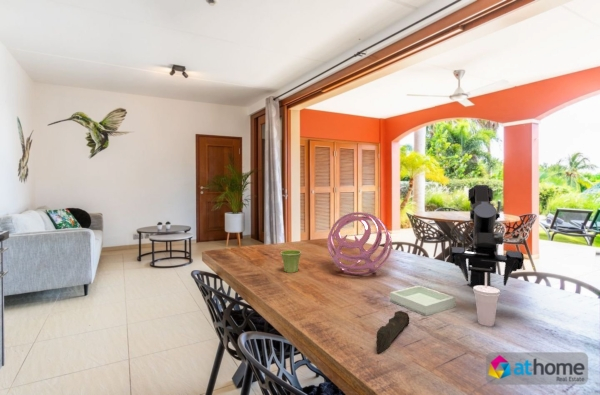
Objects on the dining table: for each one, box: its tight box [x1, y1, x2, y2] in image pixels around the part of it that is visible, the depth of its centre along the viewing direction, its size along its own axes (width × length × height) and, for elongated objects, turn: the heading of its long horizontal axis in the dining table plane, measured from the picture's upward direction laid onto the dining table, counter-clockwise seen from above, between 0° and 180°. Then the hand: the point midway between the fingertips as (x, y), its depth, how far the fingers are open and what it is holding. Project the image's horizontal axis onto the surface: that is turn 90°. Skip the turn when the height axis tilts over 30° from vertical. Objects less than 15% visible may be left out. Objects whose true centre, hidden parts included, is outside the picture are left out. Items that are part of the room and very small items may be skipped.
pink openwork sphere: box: [326, 211, 393, 276], centre depth 140 cm, size 28×28×27 cm
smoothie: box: [472, 272, 501, 327], centre depth 87 cm, size 6×6×14 cm
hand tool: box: [375, 310, 410, 354], centre depth 80 cm, size 19×4×5 cm, turn 143°
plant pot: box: [280, 249, 302, 274], centre depth 143 cm, size 9×9×9 cm
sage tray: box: [389, 284, 457, 317], centre depth 102 cm, size 14×14×3 cm
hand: (485, 282), depth 89 cm, fingers open, 9 cm apart
